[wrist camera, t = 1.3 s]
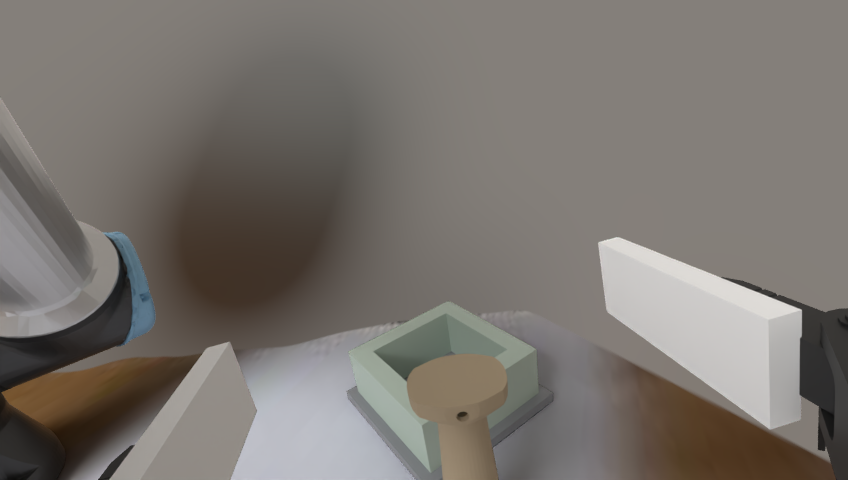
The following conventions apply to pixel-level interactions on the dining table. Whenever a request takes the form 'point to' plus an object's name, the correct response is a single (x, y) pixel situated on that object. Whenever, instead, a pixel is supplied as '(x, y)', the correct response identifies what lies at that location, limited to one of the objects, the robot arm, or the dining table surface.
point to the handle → (461, 410)
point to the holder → (424, 341)
